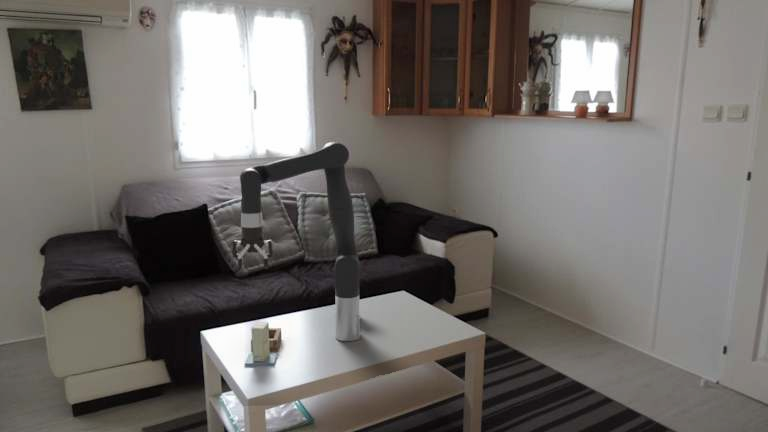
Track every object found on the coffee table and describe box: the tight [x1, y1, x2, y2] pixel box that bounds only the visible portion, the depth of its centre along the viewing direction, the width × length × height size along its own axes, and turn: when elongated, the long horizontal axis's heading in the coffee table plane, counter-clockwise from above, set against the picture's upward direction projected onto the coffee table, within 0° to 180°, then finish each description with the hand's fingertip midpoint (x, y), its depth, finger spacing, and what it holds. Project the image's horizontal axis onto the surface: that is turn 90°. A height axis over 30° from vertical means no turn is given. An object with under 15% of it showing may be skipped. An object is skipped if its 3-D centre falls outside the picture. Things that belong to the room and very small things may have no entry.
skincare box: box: [251, 321, 271, 362], centre depth 195 cm, size 6×4×12 cm
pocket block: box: [250, 327, 282, 353], centre depth 209 cm, size 9×11×4 cm
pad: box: [244, 352, 278, 367], centre depth 196 cm, size 10×8×1 cm
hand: (253, 268), depth 203 cm, fingers open, 8 cm apart
